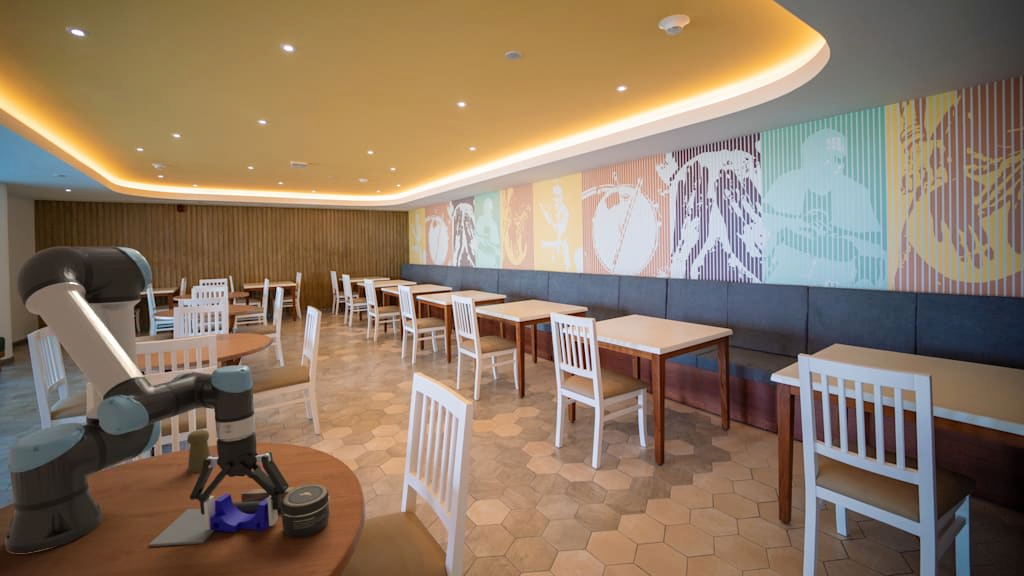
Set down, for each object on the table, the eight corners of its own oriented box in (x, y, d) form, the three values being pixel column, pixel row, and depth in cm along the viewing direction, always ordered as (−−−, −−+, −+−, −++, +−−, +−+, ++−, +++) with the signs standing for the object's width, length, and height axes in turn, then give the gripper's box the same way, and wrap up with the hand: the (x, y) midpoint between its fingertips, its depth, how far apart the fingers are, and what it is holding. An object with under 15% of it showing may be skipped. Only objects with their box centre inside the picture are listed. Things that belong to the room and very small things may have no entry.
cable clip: (210, 529, 100) (209, 504, 99) (225, 517, 104) (224, 493, 104) (260, 534, 99) (259, 509, 98) (273, 522, 103) (272, 498, 103)
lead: (236, 511, 109) (231, 515, 106) (236, 500, 109) (231, 505, 107) (295, 507, 110) (291, 511, 108) (295, 497, 110) (291, 501, 108)
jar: (285, 518, 105) (283, 487, 104) (330, 509, 108) (329, 479, 108) (279, 544, 95) (277, 511, 95) (329, 534, 99) (328, 501, 98)
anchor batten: (241, 503, 111) (241, 493, 111) (245, 499, 113) (245, 489, 113) (299, 500, 112) (298, 490, 112) (302, 496, 114) (301, 486, 114)
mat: (149, 546, 95) (148, 544, 95) (187, 511, 108) (187, 509, 108) (202, 543, 96) (202, 541, 96) (235, 508, 109) (234, 506, 109)
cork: (216, 465, 131) (214, 430, 130) (193, 474, 126) (190, 437, 125) (206, 460, 134) (204, 425, 133) (183, 469, 129) (181, 432, 128)
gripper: (166, 445, 95) (173, 538, 97) (286, 438, 97) (292, 530, 99) (188, 431, 102) (195, 518, 104) (300, 425, 104) (305, 511, 106)
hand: (242, 524), depth 101 cm, fingers open, 13 cm apart
